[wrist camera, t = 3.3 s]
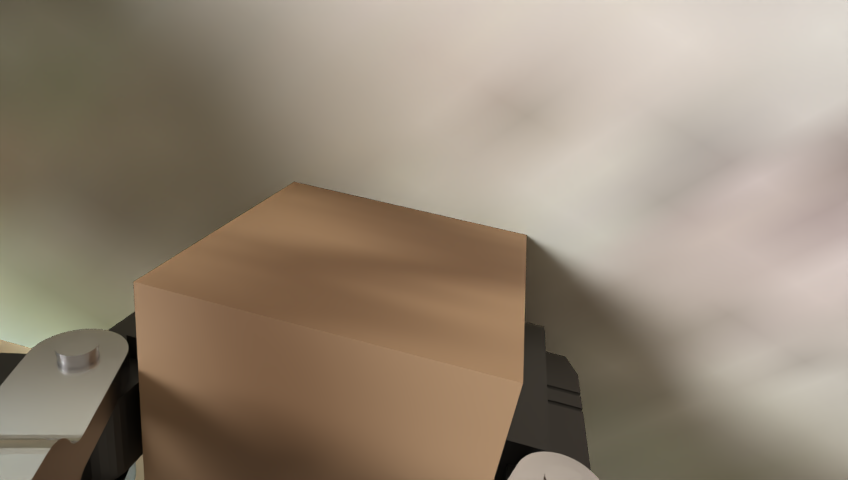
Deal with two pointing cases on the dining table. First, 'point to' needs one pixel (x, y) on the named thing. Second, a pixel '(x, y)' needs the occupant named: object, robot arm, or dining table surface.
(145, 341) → the walnut cube
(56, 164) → the dining table surface
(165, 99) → the dining table surface
